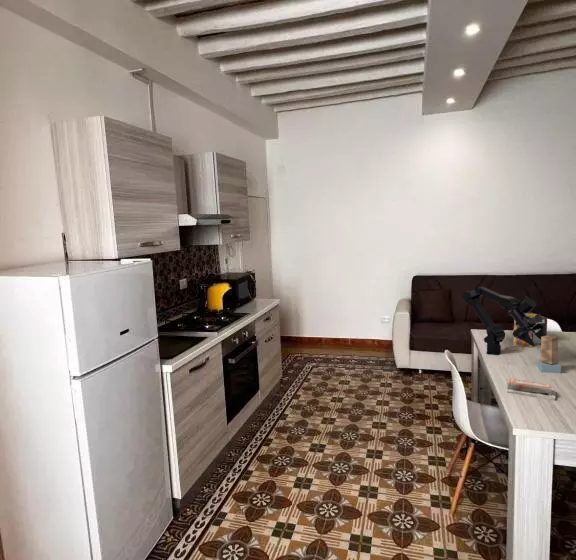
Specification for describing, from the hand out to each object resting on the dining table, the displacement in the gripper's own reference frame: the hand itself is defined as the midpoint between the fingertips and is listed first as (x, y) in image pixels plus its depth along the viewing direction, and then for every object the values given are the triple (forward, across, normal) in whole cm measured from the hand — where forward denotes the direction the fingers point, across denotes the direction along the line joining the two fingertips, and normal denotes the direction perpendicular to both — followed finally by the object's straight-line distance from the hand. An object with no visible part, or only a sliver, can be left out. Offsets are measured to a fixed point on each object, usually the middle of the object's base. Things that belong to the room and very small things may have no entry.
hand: (540, 344), depth 207 cm
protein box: (-14, +38, +31) cm, 51 cm away
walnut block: (+9, 0, +2) cm, 9 cm away
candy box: (-11, +24, +28) cm, 38 cm away
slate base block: (+12, 0, +5) cm, 13 cm away
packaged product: (+21, -32, -4) cm, 38 cm away
